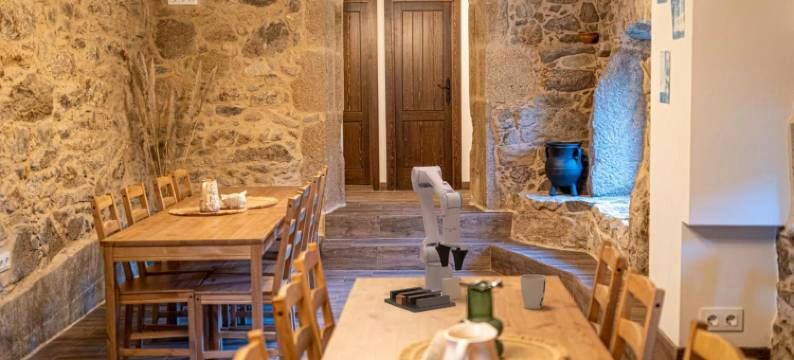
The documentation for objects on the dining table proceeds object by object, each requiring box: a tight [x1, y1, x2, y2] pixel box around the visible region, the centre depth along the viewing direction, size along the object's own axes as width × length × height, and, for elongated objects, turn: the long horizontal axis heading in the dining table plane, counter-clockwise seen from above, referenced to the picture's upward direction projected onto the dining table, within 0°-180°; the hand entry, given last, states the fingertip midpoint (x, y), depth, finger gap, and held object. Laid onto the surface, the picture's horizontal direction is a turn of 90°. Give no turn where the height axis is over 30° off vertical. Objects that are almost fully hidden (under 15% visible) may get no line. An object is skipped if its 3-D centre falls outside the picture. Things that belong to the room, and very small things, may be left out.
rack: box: [383, 286, 456, 313], centre depth 296 cm, size 16×18×4 cm
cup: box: [520, 273, 547, 310], centre depth 289 cm, size 8×8×10 cm
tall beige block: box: [441, 276, 462, 301], centre depth 303 cm, size 6×2×7 cm, turn 123°
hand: (451, 268), depth 302 cm, fingers open, 7 cm apart
